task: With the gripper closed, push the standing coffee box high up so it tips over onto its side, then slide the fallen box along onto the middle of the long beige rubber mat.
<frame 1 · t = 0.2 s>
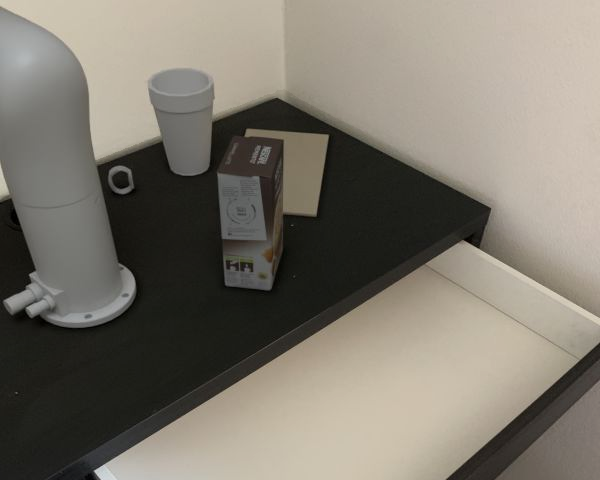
coffee box: (254, 268, 88), on the table
mat: (278, 170, 105), on the table
grey ring: (124, 193, 100), on the table
foam cup: (189, 166, 105), on the table
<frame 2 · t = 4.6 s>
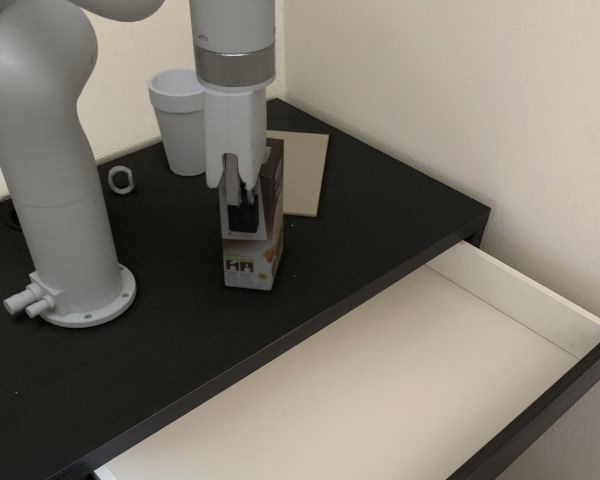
hand: (244, 228, 75), 11 cm above the table, tool pointing down, fingers closed
coffee box: (254, 268, 88), on the table, touching gripper
everything else where it was.
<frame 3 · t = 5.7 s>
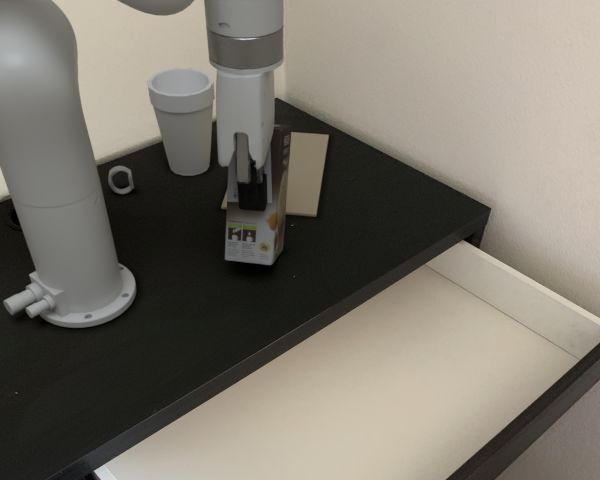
hand: (253, 206, 79), 10 cm above the table, tool pointing down, fingers closed
coffee box: (254, 257, 87), point 2 cm above the table, touching gripper
everything else where it was.
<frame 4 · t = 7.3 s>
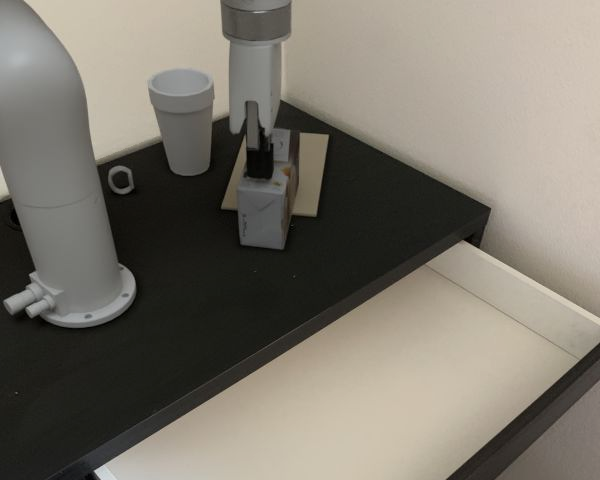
hand: (260, 174, 84), 10 cm above the table, tool pointing down, fingers closed
coffee box: (260, 222, 87), point 4 cm above the table, touching mat
everything else where it was.
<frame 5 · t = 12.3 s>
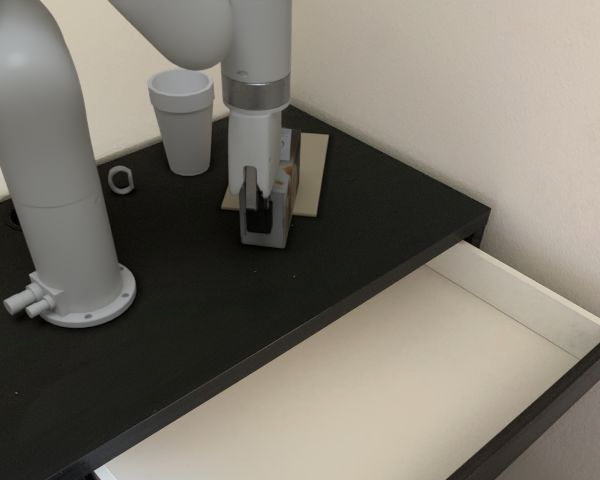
hand: (259, 229, 86), 5 cm above the table, tool pointing down, fingers closed
coffee box: (262, 221, 88), point 4 cm above the table, touching gripper, mat
everything else where it was.
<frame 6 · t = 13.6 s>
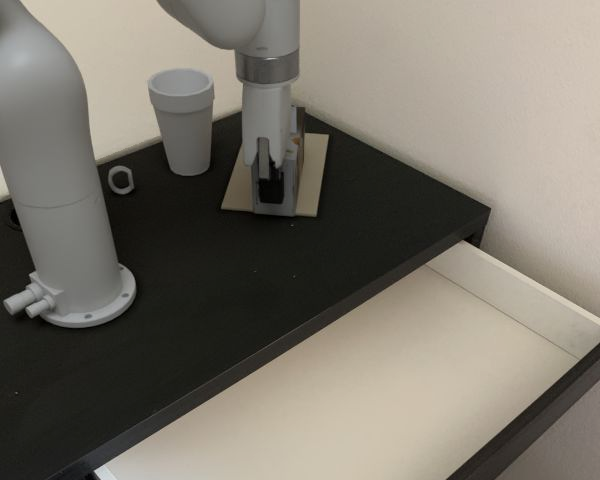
hand: (272, 200, 91), 5 cm above the table, tool pointing down, fingers closed
coffee box: (273, 189, 92), point 5 cm above the table, touching gripper, mat
everything else where it was.
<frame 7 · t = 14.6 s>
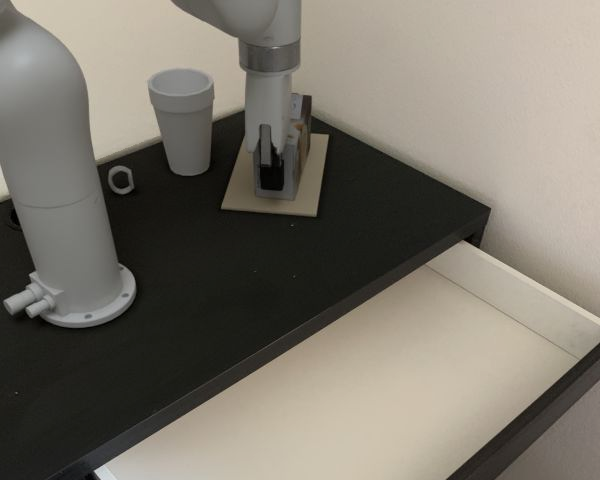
hand: (272, 187, 94), 4 cm above the table, tool pointing down, fingers closed
coffee box: (273, 173, 95), point 5 cm above the table, touching gripper, mat
everything else where it was.
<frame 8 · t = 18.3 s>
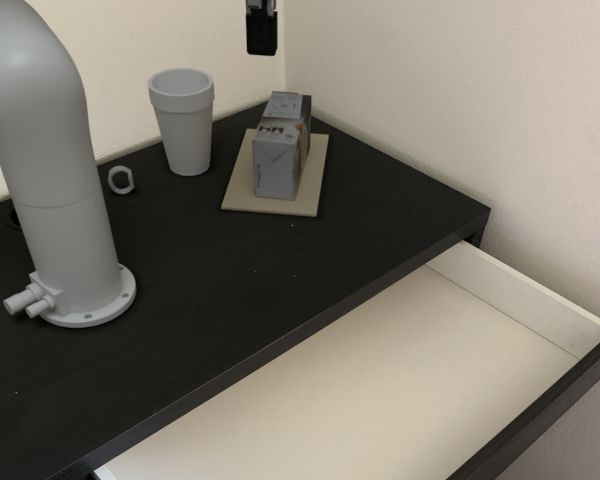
hand: (262, 52, 73), 25 cm above the table, tool pointing down, fingers closed
coffee box: (273, 172, 95), point 5 cm above the table, touching mat
everything else where it was.
at the end: coffee box tilted 89°; coffee box 9.2 cm from the mat (horizontally); the gripper is holding nothing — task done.
